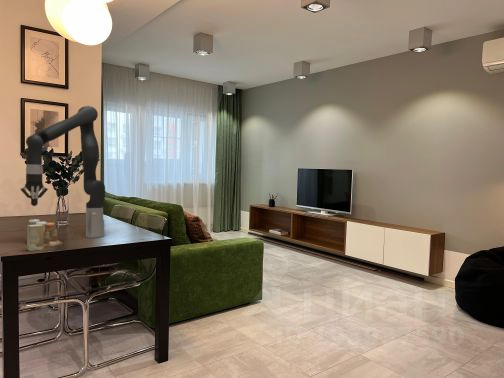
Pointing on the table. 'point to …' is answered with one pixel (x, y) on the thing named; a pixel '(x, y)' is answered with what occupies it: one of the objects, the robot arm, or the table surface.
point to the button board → (50, 238)
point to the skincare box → (35, 237)
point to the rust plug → (49, 226)
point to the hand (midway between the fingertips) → (34, 205)
